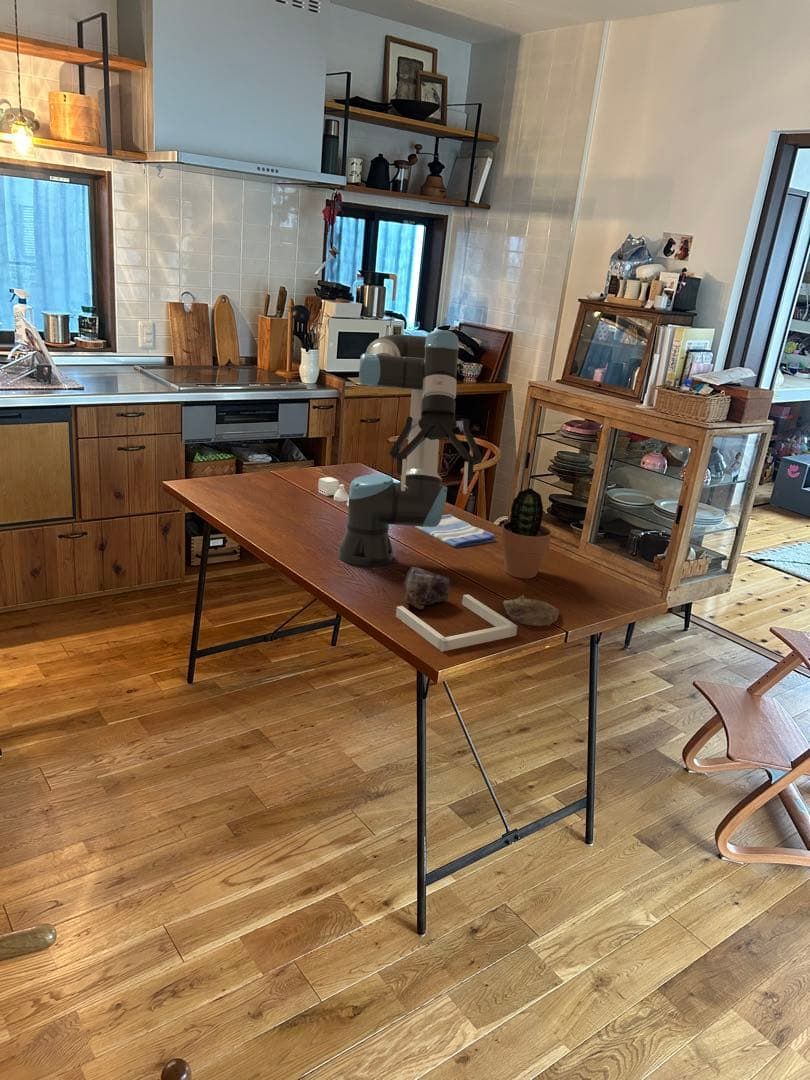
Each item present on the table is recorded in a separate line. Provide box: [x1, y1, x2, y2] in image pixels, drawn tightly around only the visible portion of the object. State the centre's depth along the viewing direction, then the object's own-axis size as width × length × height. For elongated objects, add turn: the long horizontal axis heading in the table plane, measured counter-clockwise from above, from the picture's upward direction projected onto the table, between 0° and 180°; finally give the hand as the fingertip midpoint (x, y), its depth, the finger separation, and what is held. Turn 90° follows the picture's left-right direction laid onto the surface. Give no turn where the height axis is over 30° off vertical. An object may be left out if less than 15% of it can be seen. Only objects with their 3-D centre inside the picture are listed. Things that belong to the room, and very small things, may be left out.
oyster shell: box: [502, 594, 560, 627], centre depth 201 cm, size 11×15×6 cm
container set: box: [317, 476, 349, 507], centre depth 280 cm, size 20×5×6 cm, turn 42°
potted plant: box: [500, 487, 553, 579], centre depth 225 cm, size 14×14×25 cm
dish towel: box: [413, 513, 496, 549], centre depth 257 cm, size 17×24×3 cm
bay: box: [395, 594, 518, 653], centre depth 192 cm, size 20×21×2 cm
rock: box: [403, 566, 451, 610], centre depth 202 cm, size 12×9×10 cm
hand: (433, 491), depth 178 cm, fingers open, 13 cm apart
